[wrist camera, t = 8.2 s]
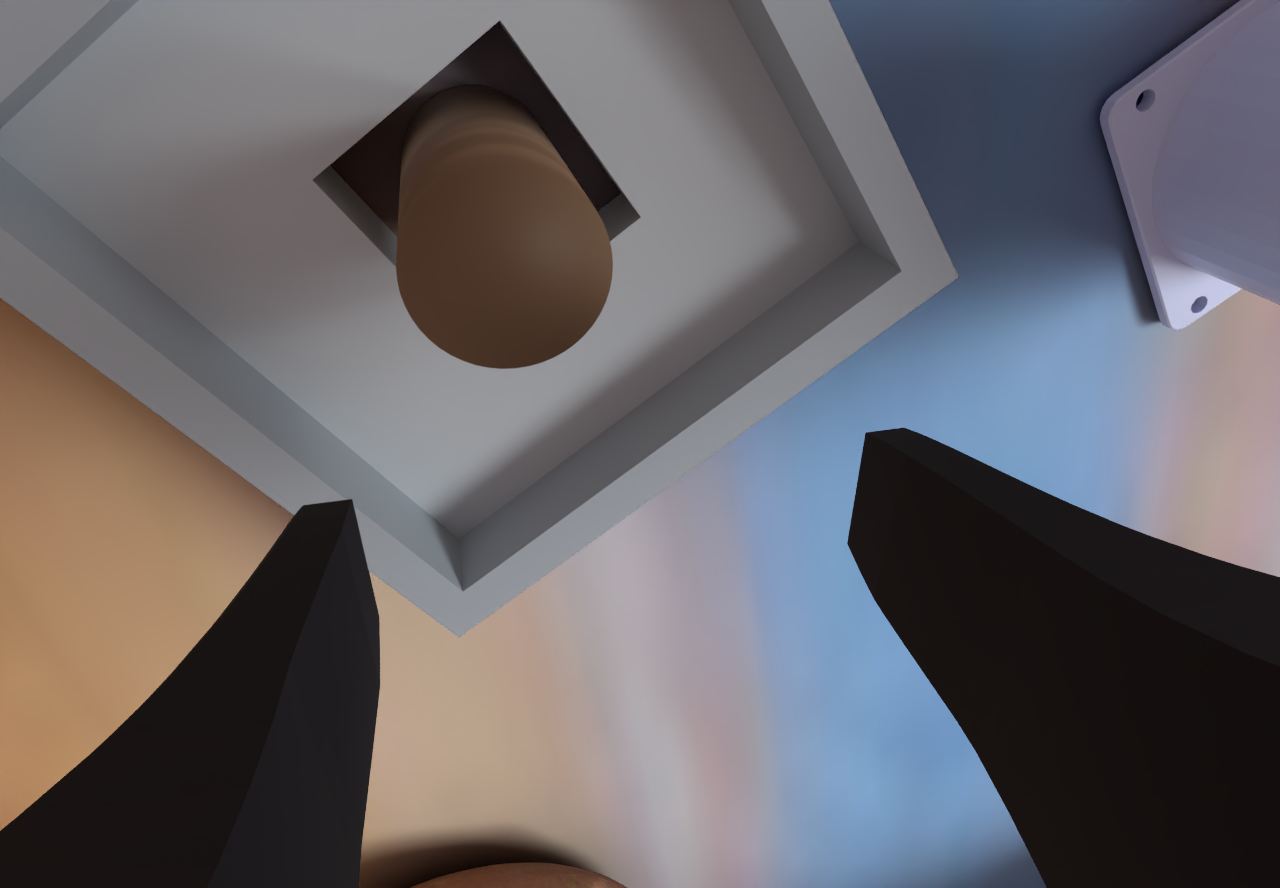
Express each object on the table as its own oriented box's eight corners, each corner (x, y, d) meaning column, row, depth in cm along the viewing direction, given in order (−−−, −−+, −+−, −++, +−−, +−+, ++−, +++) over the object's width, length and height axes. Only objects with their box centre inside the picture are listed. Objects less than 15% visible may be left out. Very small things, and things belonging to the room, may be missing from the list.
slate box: (525, -443, 13) (561, -568, 10) (872, 223, 21) (958, 277, 18) (-60, 110, 15) (-188, 157, 12) (452, 536, 23) (459, 637, 20)
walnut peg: (495, 53, 17) (538, 115, 11) (576, 185, 19) (649, 297, 13) (369, 140, 17) (347, 243, 12) (460, 261, 19) (481, 404, 13)
